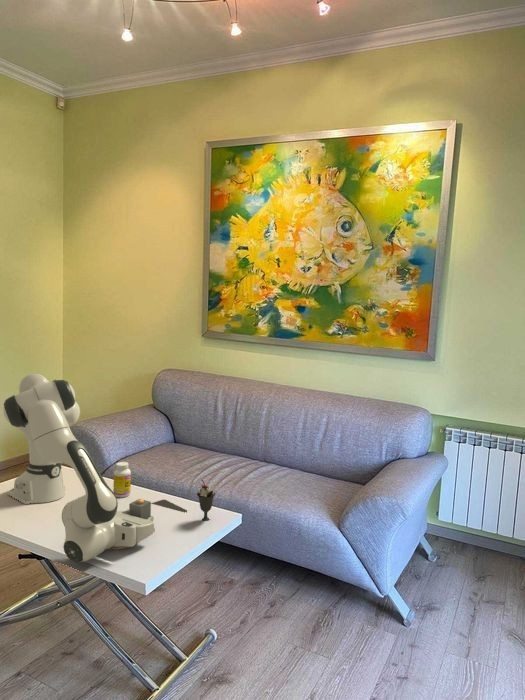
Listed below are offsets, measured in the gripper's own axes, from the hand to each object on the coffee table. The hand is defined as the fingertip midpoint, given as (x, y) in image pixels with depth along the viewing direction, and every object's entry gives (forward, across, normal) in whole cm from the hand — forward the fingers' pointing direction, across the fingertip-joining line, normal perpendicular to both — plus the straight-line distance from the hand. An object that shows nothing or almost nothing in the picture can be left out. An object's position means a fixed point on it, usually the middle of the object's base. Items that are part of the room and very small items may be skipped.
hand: (140, 514), depth 172 cm
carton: (0, 0, -5) cm, 5 cm away
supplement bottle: (+22, -28, -6) cm, 36 cm away
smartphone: (+20, -4, -7) cm, 22 cm away
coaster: (-10, 0, -6) cm, 12 cm away
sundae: (+18, +14, -6) cm, 24 cm away
